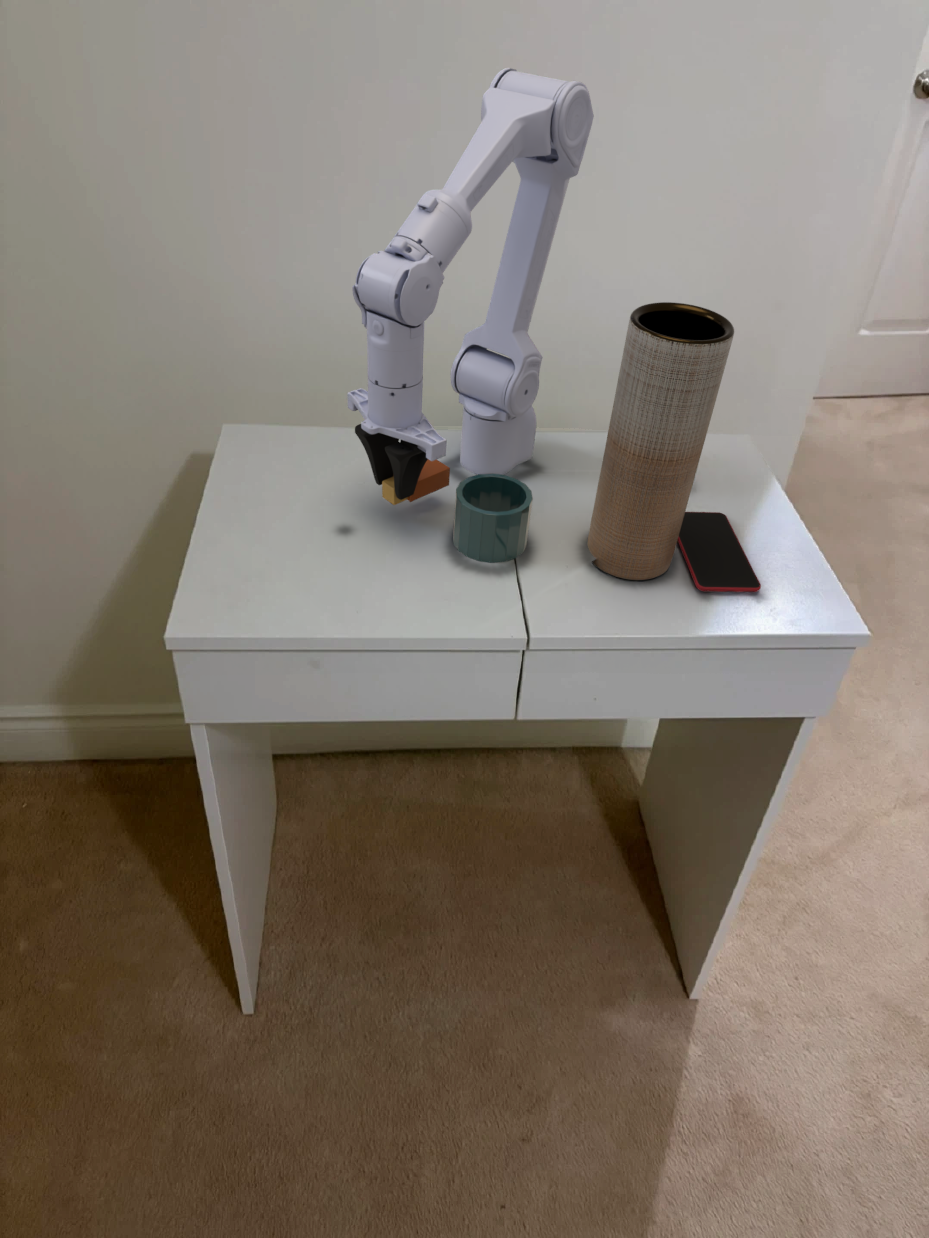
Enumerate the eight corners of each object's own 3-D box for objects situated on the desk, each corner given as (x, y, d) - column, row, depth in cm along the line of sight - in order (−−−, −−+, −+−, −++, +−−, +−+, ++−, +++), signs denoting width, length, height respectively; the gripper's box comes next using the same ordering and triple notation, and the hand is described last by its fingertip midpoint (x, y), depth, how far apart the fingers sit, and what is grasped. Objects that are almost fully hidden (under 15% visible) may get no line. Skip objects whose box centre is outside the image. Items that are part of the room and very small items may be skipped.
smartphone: (698, 587, 93) (667, 510, 104) (696, 594, 94) (665, 516, 105) (763, 588, 94) (725, 512, 105) (761, 595, 94) (723, 518, 106)
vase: (654, 529, 103) (711, 301, 85) (683, 579, 96) (752, 341, 78) (575, 533, 101) (617, 301, 83) (599, 584, 94) (650, 342, 76)
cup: (489, 519, 102) (495, 465, 98) (540, 552, 98) (548, 497, 93) (437, 544, 98) (440, 489, 93) (488, 580, 93) (493, 524, 89)
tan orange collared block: (431, 474, 102) (432, 456, 101) (449, 485, 100) (450, 467, 99) (379, 496, 98) (379, 478, 96) (396, 508, 96) (396, 490, 95)
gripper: (322, 361, 89) (328, 472, 98) (410, 414, 82) (408, 530, 91) (375, 345, 93) (376, 454, 102) (464, 394, 85) (457, 507, 94)
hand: (394, 488), depth 97 cm, fingers closed on tan orange collared block, 3 cm apart
